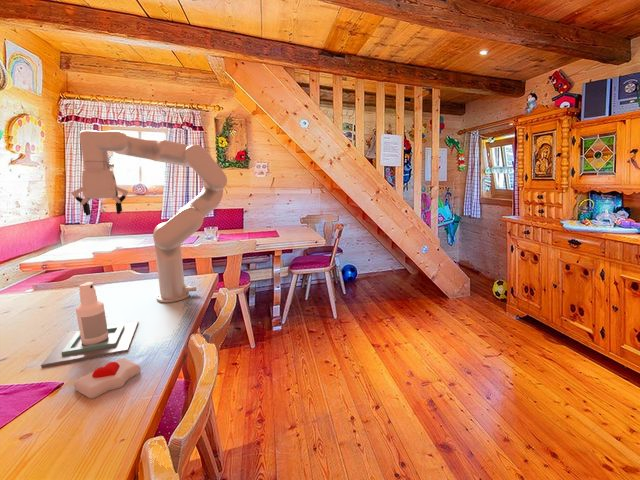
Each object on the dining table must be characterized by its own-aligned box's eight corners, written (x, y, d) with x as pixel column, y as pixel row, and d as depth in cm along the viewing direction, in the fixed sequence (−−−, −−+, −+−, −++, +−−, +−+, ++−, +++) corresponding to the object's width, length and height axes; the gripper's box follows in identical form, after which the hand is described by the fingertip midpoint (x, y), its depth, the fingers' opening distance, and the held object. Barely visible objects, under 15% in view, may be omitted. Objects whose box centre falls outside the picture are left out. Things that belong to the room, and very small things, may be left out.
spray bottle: (95, 346, 93) (86, 288, 90) (75, 344, 95) (65, 287, 91) (114, 335, 100) (105, 280, 97) (95, 333, 101) (86, 279, 98)
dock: (138, 323, 110) (137, 318, 110) (127, 351, 92) (126, 346, 91) (68, 334, 103) (67, 328, 103) (41, 367, 85) (40, 361, 84)
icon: (92, 387, 70) (69, 374, 75) (95, 405, 71) (72, 391, 76) (145, 360, 80) (122, 350, 85) (147, 375, 81) (124, 364, 86)
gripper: (126, 167, 121) (132, 212, 124) (71, 167, 115) (79, 214, 118) (122, 166, 114) (128, 214, 117) (63, 166, 108) (72, 216, 111)
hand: (103, 214), depth 118 cm, fingers open, 9 cm apart
